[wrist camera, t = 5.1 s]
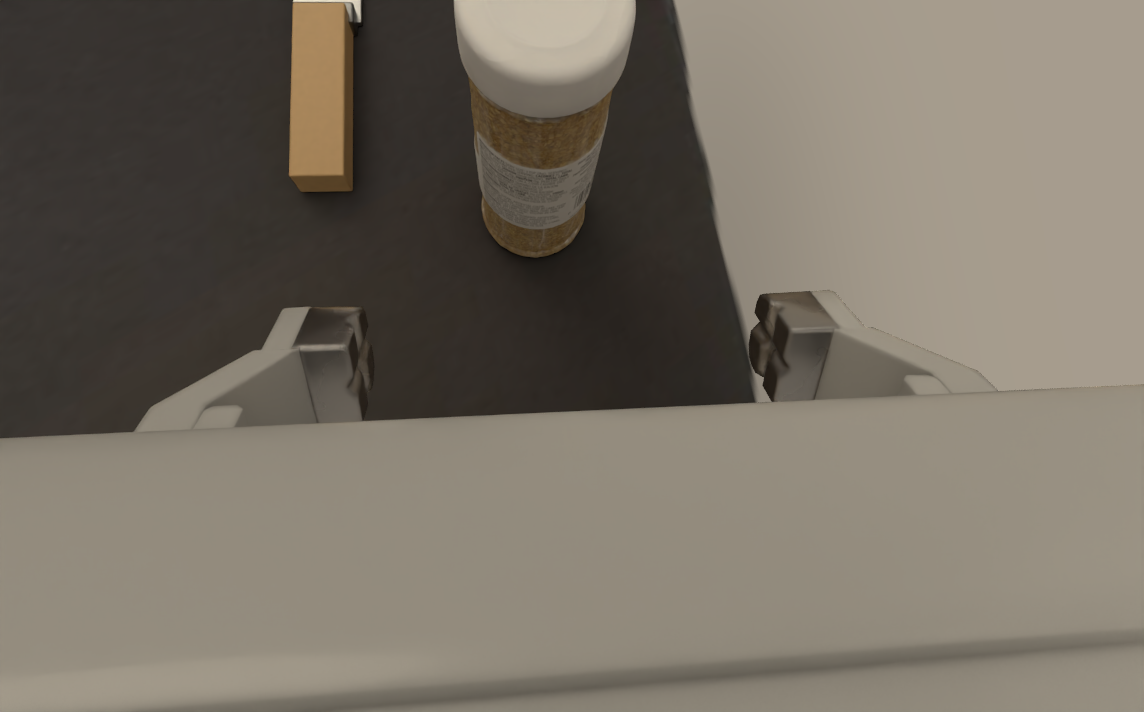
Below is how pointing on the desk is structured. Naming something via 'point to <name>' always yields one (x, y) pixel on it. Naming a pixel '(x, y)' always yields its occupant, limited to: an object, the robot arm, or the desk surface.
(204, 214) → the desk surface
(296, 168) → the knife
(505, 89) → the sprinkles bottle
